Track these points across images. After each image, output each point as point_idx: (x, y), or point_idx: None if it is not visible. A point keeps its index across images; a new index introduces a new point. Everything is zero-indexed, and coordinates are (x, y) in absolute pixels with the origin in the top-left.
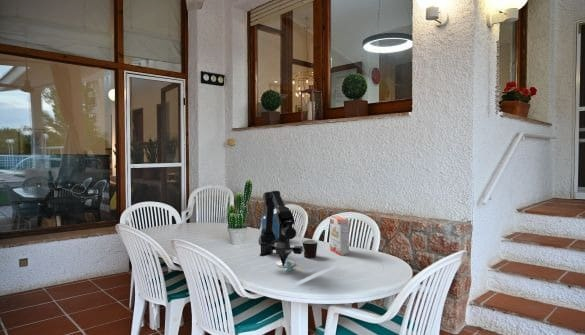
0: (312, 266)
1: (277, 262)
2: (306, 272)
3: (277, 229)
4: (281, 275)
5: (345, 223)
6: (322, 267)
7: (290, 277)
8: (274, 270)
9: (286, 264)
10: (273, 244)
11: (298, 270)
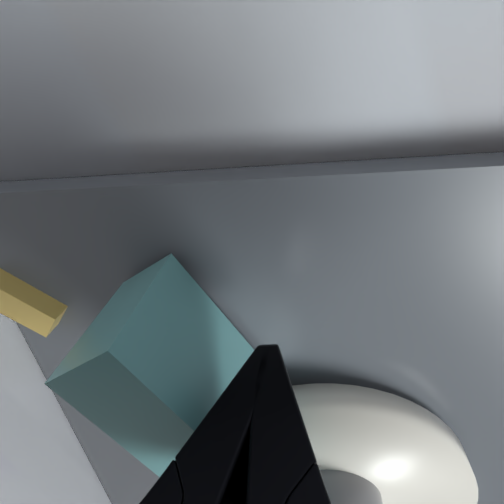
0: (94, 486)
1: (457, 493)
2: (25, 349)
3: None
4: (247, 138)
5: None
6: (8, 478)
7: (57, 96)
8: None
9: (215, 390)
10: None
11: (18, 303)
